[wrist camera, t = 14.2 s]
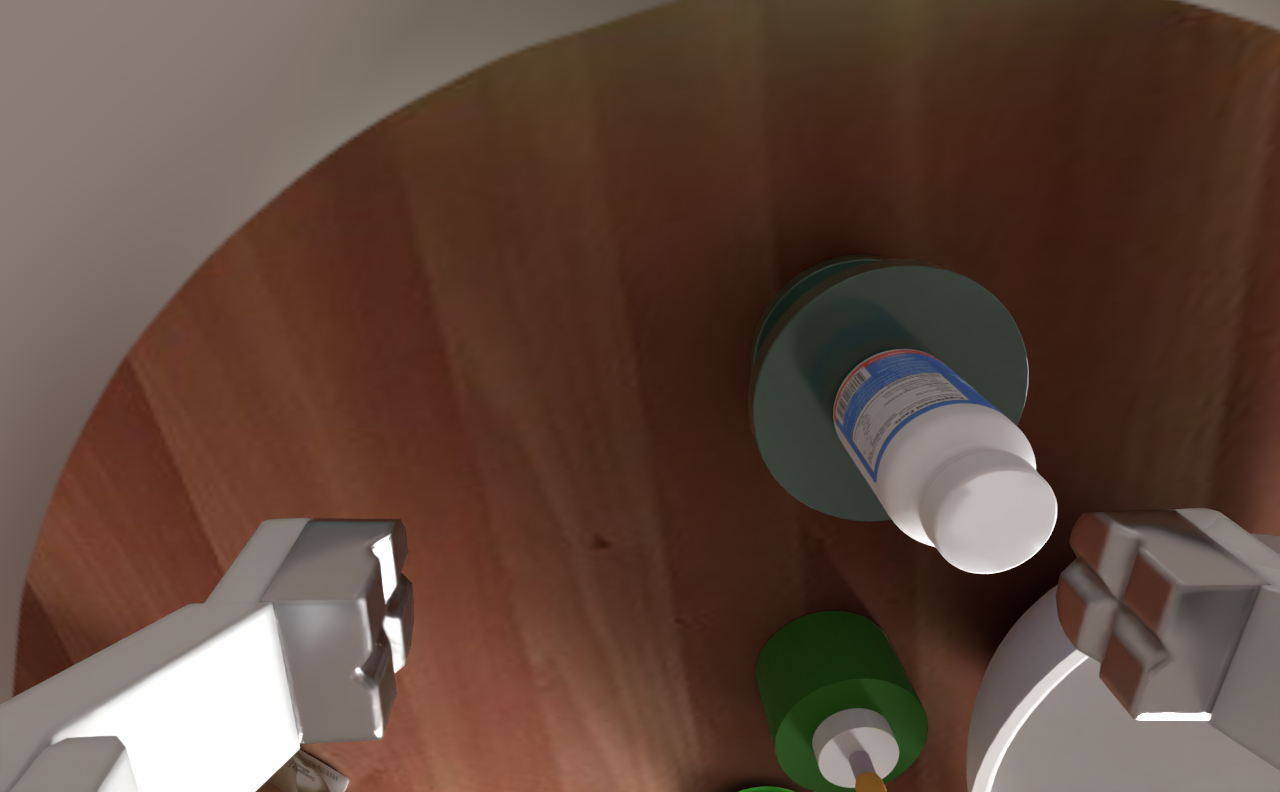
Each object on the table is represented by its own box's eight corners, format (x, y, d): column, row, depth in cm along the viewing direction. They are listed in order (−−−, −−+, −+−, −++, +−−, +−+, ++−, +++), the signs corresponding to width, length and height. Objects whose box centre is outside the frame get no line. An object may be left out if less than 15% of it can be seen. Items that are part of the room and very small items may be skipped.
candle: (727, 678, 48) (759, 826, 39) (823, 586, 46) (881, 721, 37) (825, 739, 50) (877, 892, 41) (921, 655, 48) (998, 797, 39)
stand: (738, 232, 37) (764, 264, 32) (988, 234, 38) (1057, 266, 32) (722, 460, 42) (742, 524, 36) (945, 458, 43) (999, 520, 37)
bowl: (814, 742, 50) (863, 895, 41) (1074, 372, 41) (1212, 464, 32) (1150, 848, 56) (1258, 1004, 47) (1444, 544, 47) (1650, 664, 38)
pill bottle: (966, 433, 35) (1094, 563, 26) (849, 476, 36) (936, 618, 27) (937, 323, 33) (1066, 424, 24) (814, 371, 34) (894, 487, 25)
